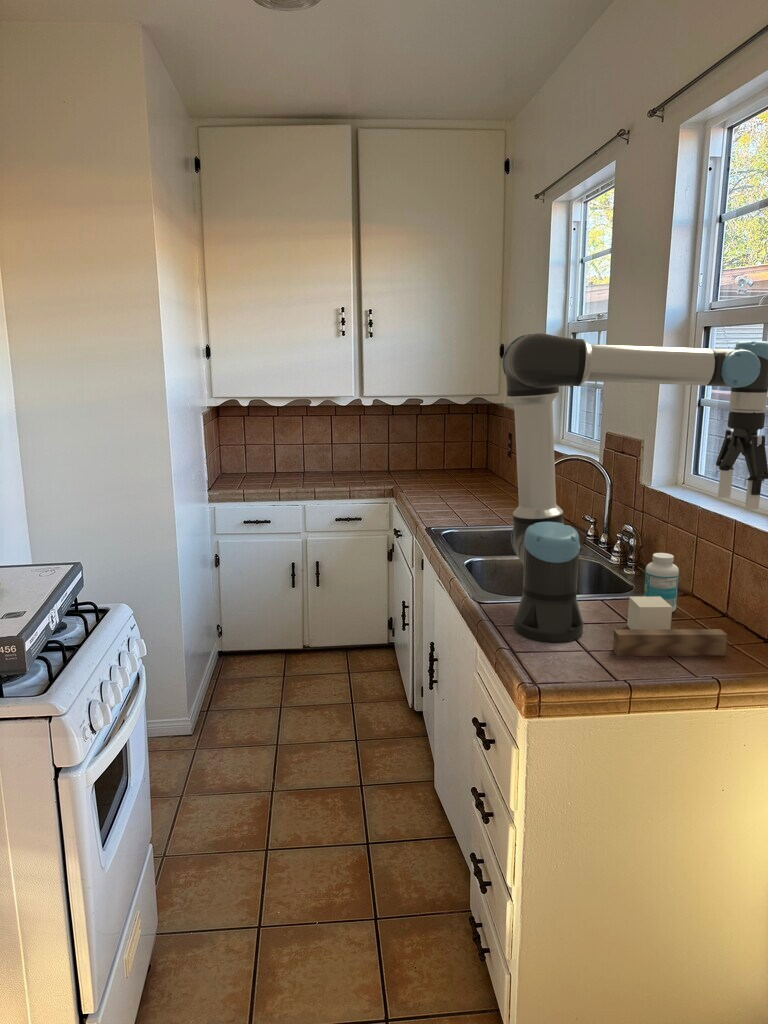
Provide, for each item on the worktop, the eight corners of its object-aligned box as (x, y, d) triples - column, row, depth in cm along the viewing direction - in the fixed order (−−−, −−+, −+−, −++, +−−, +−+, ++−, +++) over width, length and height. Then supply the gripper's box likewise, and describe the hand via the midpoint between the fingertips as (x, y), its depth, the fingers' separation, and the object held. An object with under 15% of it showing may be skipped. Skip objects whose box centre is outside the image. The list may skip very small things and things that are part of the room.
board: (617, 655, 149) (618, 635, 148) (612, 650, 152) (614, 629, 151) (725, 655, 149) (727, 634, 148) (718, 649, 152) (720, 629, 151)
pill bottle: (649, 602, 181) (653, 549, 179) (680, 608, 177) (684, 554, 174) (638, 610, 176) (642, 555, 173) (669, 616, 171) (674, 561, 168)
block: (637, 637, 159) (639, 607, 157) (627, 626, 166) (629, 596, 164) (669, 637, 159) (672, 607, 157) (658, 625, 166) (660, 596, 164)
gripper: (794, 415, 153) (781, 514, 158) (737, 407, 178) (728, 493, 182) (758, 415, 153) (747, 514, 158) (706, 407, 178) (698, 492, 182)
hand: (737, 503), depth 170 cm, fingers open, 13 cm apart
